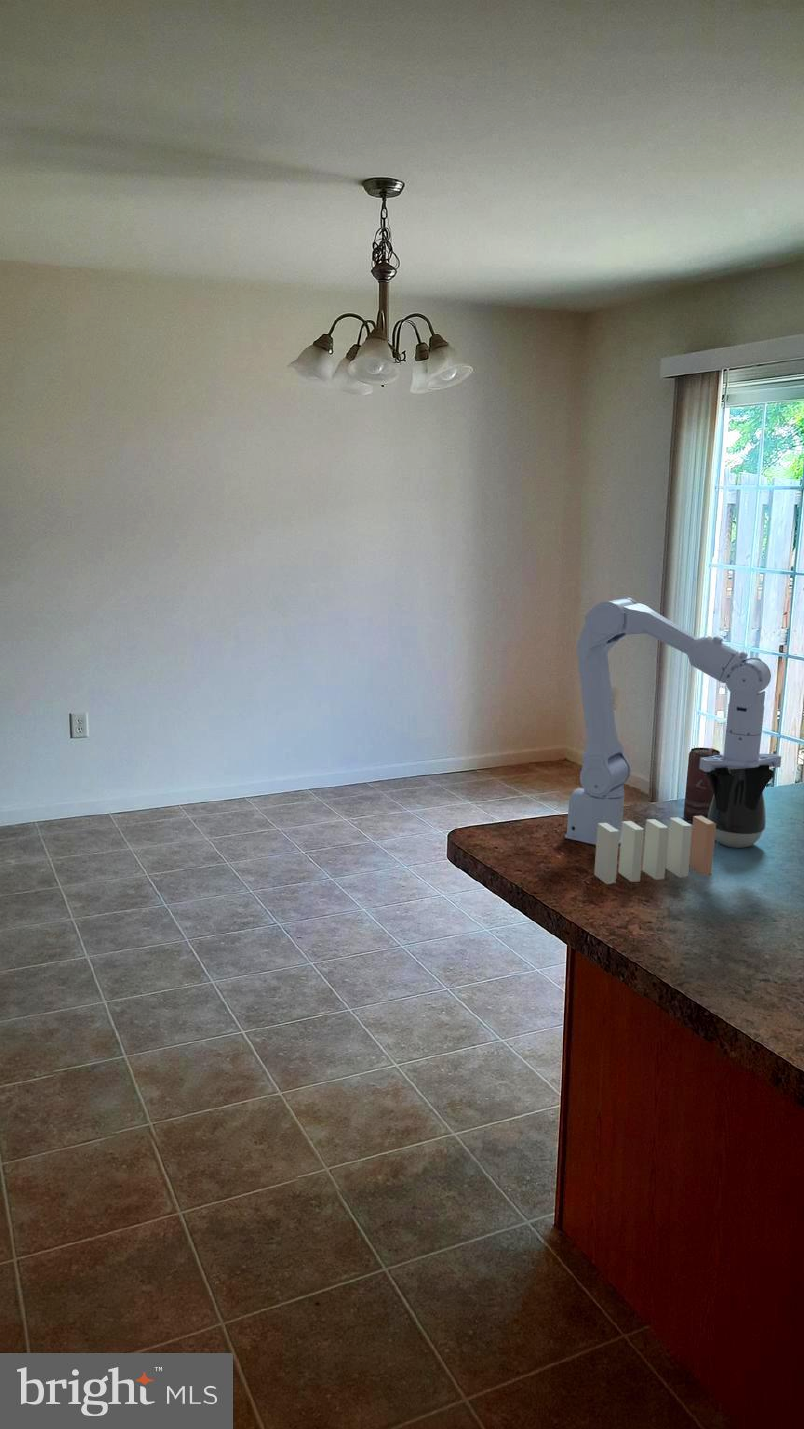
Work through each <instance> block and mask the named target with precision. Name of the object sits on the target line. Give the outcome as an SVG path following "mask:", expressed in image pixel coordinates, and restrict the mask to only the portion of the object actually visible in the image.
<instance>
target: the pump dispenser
mask: <svg viewBox="0 0 804 1429" xmlns="http://www.w3.org/2000/svg"><path fill="white" fill-rule="evenodd" d="M728 771H729V772H730V773H729V774H731V775H733V776H735V779H734V781H733V784H732V786H731V790H730V794H729V803H728V809H727V812H721V811H719V810H717V809H716V802H715V796H714V794H713V797H712V800H711V803H710V807H709V811H708V816H707V819H709V820H710V821H712V822H714V823H716V831H715V841H717V843H719V844H721V845H723V846H726V847H729V848H736V849H739V848H741V849H743V848H747V847H750V846H752V845H754V844H756V842H758V840H759V839H760V838H761V836H762V834H763V831H765V829H766V817H767V816H766V807H765V806H766V805H765V799H764V798H765V797H764V793H763V792H764V791H763V792H762V794H761V796H760V799H759V801H758V804H757V807H756V809H755V810H751V809H749V808H747V807H745V792H746V778H745V770H744V768H740V769H728Z"/></svg>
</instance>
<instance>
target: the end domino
mask: <svg viewBox="0 0 804 1429" xmlns="http://www.w3.org/2000/svg"><path fill="white" fill-rule="evenodd" d="M691 825H692V835H691V846H690V857H689V868H691V869H692V870H694V871H695V872H697V873H699V874H700V875H701V876H709V875H710V876H711V875H712V870H713V860H714V850H715V848H714V847H715V841H716V840H715V831H716V823H714V822H712V821H710V820H709V819H707V818H705V817H703V816H693V822H692V824H691Z"/></svg>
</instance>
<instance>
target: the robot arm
mask: <svg viewBox="0 0 804 1429" xmlns="http://www.w3.org/2000/svg"><path fill="white" fill-rule="evenodd" d="M643 634H644V635H648V636H650V637H652V638H654V639H656V640H657V641H660V642H662V643H664V644H666V645H667V646H670V647H671V648H673V649H675V650H677V651H680V652H681V653H684V654H685V655H686V656H687V658H688V661H689V663H690V666H692V667H694V668H695V669H697V670H699V671H701V672H702V673H704V674H706V675H707V676H709V677H711V678H713V679H715V680H716V681H717V682H720V683H722V684H726V687H727V690H728V691H729V702H728V706H727V716H726V726H725V735H724V746H723V753H720V755H715V756H711V757H704V758H700V766H699V769H701V770H703V771H705V772H706V773H707V775H708V777H709V780H710V782H711V785H712V788H713V791H714V796H715V802H716V809H717V810H719V811H721V812H727V809H728V803H729V794H730V790H731V786H732V784H733V781H734V779H735V776H733V775H731V774H729V773H730V772H729V771H728V769H740V768H744V770H745V778H746V792H745V807H747V808H749V809H751V810H755V809H756V807H757V804H758V801H759V799H760V796H761V794H762V792H764V790H765V788H766V787H767V785H768V784H769V783H770V781H771V780H772V779H773V777H774V776H775V774H774V773H775V771H774V770H773V769H770V768H771V767H773V768H775V769H776V768H781V765H782V764H781V763H782V756H781V755H779V754H776V753H760V752H761V751H760V750H761V744H762V742H761V741H762V734H763V724H764V723H763V722H764V716H765V715H764V714H765V698H766V691H765V690H766V688H767V687H768V686H769V684H770V683H771V680H772V673H771V670H770V667H769V666H768V664H766V663H765V662H764V661H763V660H762V659H761V658H759V657H748V655H749V654H748V653H747V652H745V651H741V652H739V651H737V649H733V648H732V647H730V646H729V645H726V644H725V643H723V641H724V639H723V638H721V637H720V636H718V635H715V636H714V637H713V636H710V635H706V636H702V637H697V636H695V635H694V634H692V633H691V632H689V631H687V630H685V628H683V627H681V626H679V625H677V624H676V623H675V622H673V621H672V620H670V619H668V618H666V617H665V616H664V615H662V614H659V613H658V612H656V611H655V610H653V609H652V608H650V607H649V606H647V605H646V604H644V603H640V602H639V603H638V602H637V601H636V600H634V599H633V598H631V597H619V598H617V599H613V600H605V601H601V602H598V603H597V604H595V605H594V606H593V607H592V608H591V609H590V610H589V611H588V612H587V613H586V614H585V615H584V625H583V628H582V630H581V632H580V635H579V637H578V640H577V643H576V657H577V665H578V667H577V668H578V674H579V681H580V682H579V684H580V691H581V698H582V708H583V715H584V723H585V733H586V741H587V743H586V746H585V748H584V751H583V754H582V758H581V760H582V768H581V770H580V773H579V781H580V785H581V787H577V788H575V789H574V790H573V792H572V793H571V795H570V798H569V801H568V810H567V812H568V813H567V825H566V826H567V828H566V829H567V830H566V834H565V835H564V837H565V838H566V839H569V840H573V841H578V842H581V843H586V844H590V845H595V846H596V842H597V828H598V823H608V824H609V825H611V826H612V827H614V828H615V829H617V830H618V831H619V842H618V846H620V844H621V831H622V821H623V817H624V816H623V815H624V803H625V801H624V800H625V788H624V784H625V783H627V781H628V780H629V778H630V776H631V771H632V770H631V765H630V764H631V763H630V762H629V760H628V758H627V757H626V755H625V752H624V750H625V749H624V746H623V744H622V743H621V742H620V740H619V739H618V737H617V728H616V718H615V710H614V709H615V708H614V698H613V693H612V692H613V691H612V684H611V683H612V682H611V675H610V674H611V673H610V665H609V655H608V653H609V652H610V651H611V649H612V648H613V647H614V646H615V645H616V644H617V642H619V640H620V639H622V638H623V637H625V636H627V635H643Z"/></svg>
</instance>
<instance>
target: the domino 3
mask: <svg viewBox="0 0 804 1429" xmlns="http://www.w3.org/2000/svg"><path fill="white" fill-rule="evenodd" d="M668 833H669V826H667V825H665V824H664V823H662V822H660V821H659V820H657V819H655V818H653V819H652V818H651V819H650V818H648V819H646V820H645V828H644V841H643V853H642V865H641V871H642V870H643V872H644V873H645V874H647V875H648V876H649V877H651V878H652V879H653V880H656V881H658V880H664V879H665V873H666V872H665V871H666V870H665V869H666V857H667V845H668Z"/></svg>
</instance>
